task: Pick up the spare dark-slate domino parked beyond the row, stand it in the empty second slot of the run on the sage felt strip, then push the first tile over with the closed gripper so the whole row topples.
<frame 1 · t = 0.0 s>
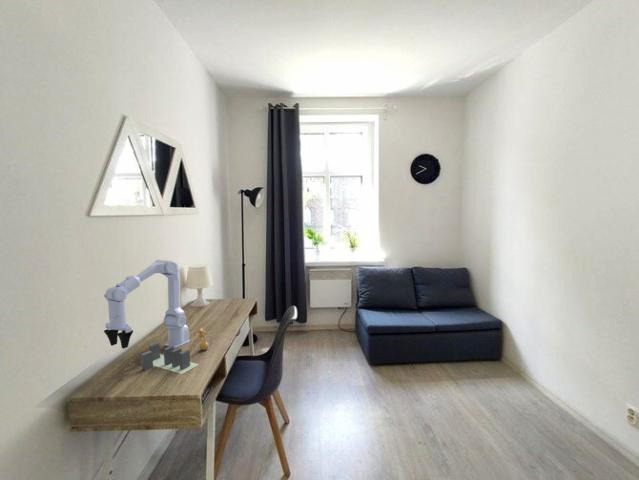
hand: (119, 346, 132), 10 cm above the table, fingers open, 7 cm apart
felt strip: (169, 363, 137), on the table
tile 3: (169, 363, 137), resting on felt strip
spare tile: (147, 368, 132), on the table
tile 4: (177, 365, 135), resting on felt strip
figurine: (203, 351, 149), on the table
tile 5: (185, 367, 133), resting on felt strip
tile 1: (155, 359, 141), resting on felt strip
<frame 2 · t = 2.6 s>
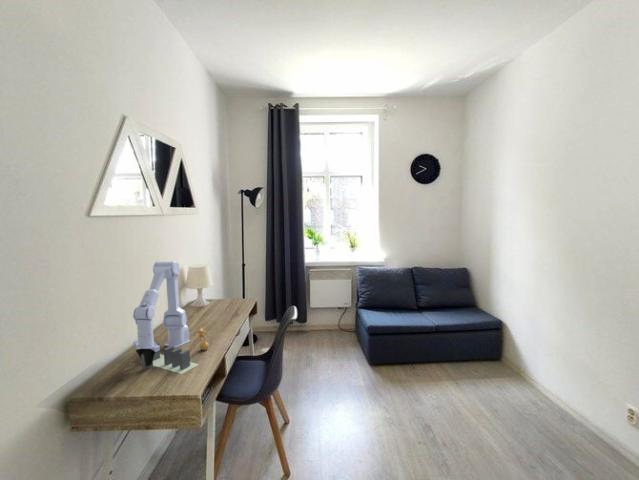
hand: (147, 364, 132), 2 cm above the table, fingers closed on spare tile, 2 cm apart
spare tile: (147, 368, 132), on the table, touching gripper
everything else where it was.
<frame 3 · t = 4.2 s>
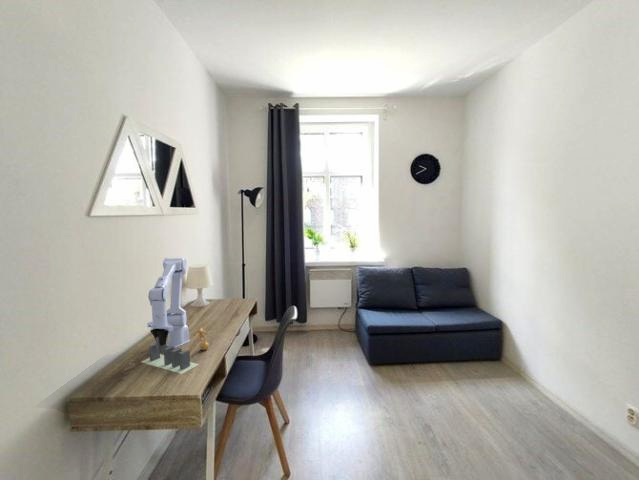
hand: (161, 344, 138), 8 cm above the table, fingers closed on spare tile
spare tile: (161, 351, 138), point 5 cm above the table, touching gripper
everything else where it was.
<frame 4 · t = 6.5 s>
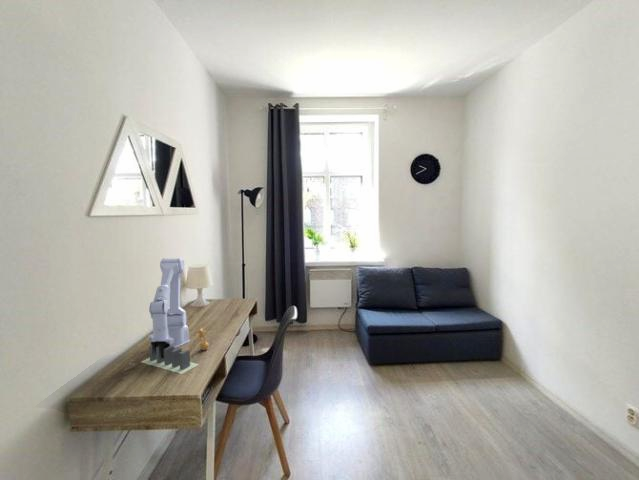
hand: (162, 356, 139), 2 cm above the table, fingers closed
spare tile: (162, 361, 139), resting on felt strip
everything else where it was.
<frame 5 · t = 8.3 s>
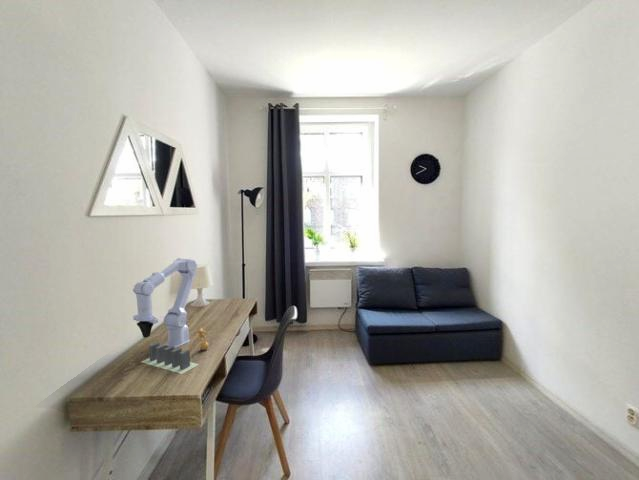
hand: (146, 336, 142), 10 cm above the table, fingers closed
nothing on the table moved.
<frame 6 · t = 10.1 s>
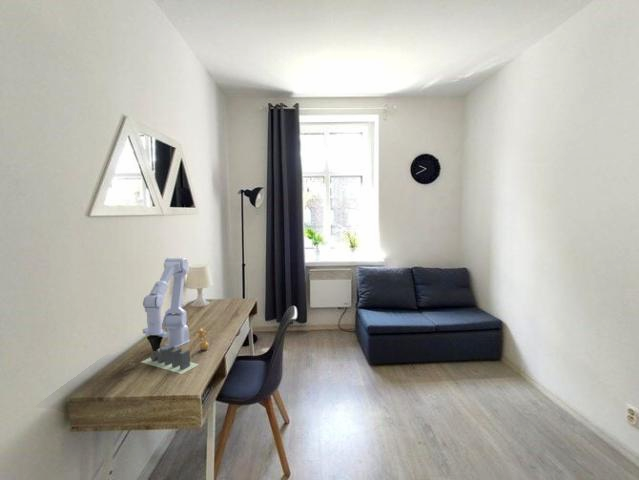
hand: (156, 350, 140), 4 cm above the table, fingers closed
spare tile: (162, 360, 139), point 1 cm above the table, tilted 24°, touching felt strip
tile 1: (155, 357, 141), point 1 cm above the table, tilted 44°, touching felt strip
everything else where it was.
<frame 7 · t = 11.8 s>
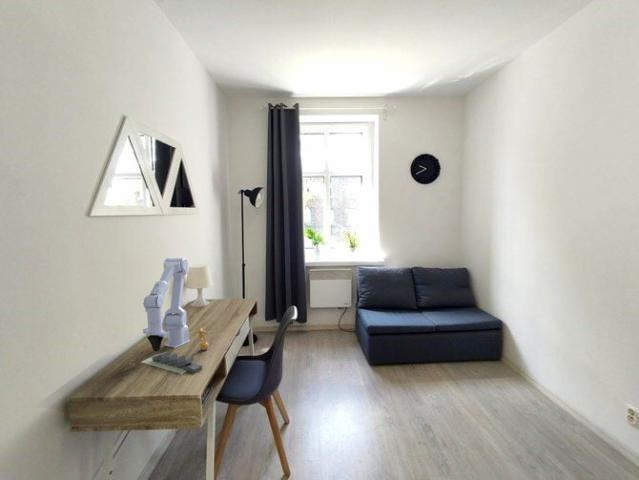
hand: (156, 350, 140), 4 cm above the table, fingers closed
tile 3: (171, 361, 136), point 1 cm above the table, tilted 69°, touching felt strip, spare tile, tile 4
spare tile: (163, 359, 138), point 1 cm above the table, tilted 68°, touching felt strip, tile 1, tile 3
tile 4: (179, 364, 134), point 1 cm above the table, tilted 64°, touching felt strip, tile 3, tile 5
tile 5: (186, 365, 132), point 1 cm above the table, tilted 93°, touching felt strip, tile 4
tile 1: (156, 357, 140), point 1 cm above the table, tilted 68°, touching felt strip, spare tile
everything else where it was.
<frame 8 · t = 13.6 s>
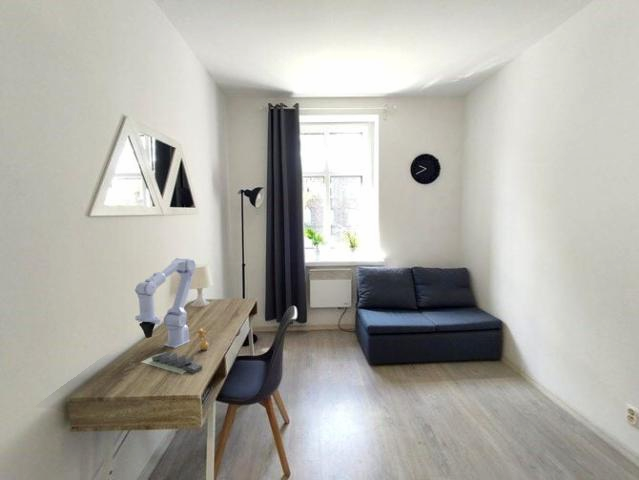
hand: (148, 337, 142), 10 cm above the table, fingers closed
nothing on the table moved.
at the end: tile 5 tilted 92°; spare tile tilted 68° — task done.
